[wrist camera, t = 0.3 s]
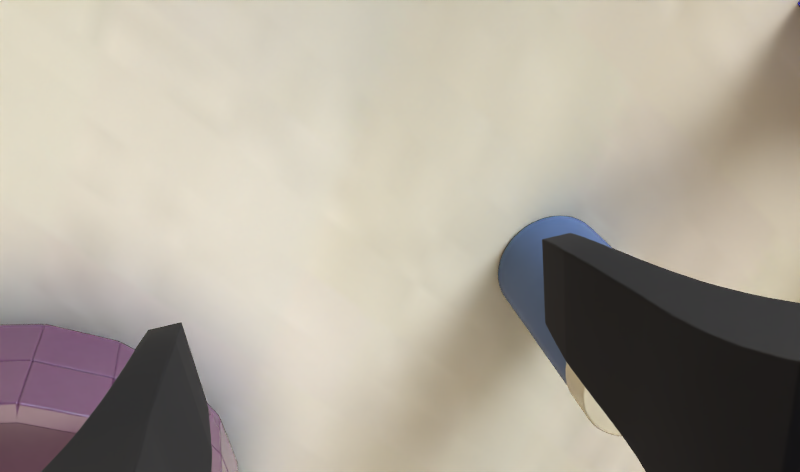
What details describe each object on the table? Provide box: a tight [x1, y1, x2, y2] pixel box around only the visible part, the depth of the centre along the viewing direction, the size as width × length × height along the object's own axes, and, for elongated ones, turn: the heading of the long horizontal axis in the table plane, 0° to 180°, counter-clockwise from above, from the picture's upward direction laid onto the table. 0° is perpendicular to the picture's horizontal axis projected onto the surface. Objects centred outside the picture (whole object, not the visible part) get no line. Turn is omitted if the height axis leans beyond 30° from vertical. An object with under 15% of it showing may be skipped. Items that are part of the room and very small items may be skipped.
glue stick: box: [498, 216, 622, 436], centre depth 24 cm, size 4×4×7 cm
